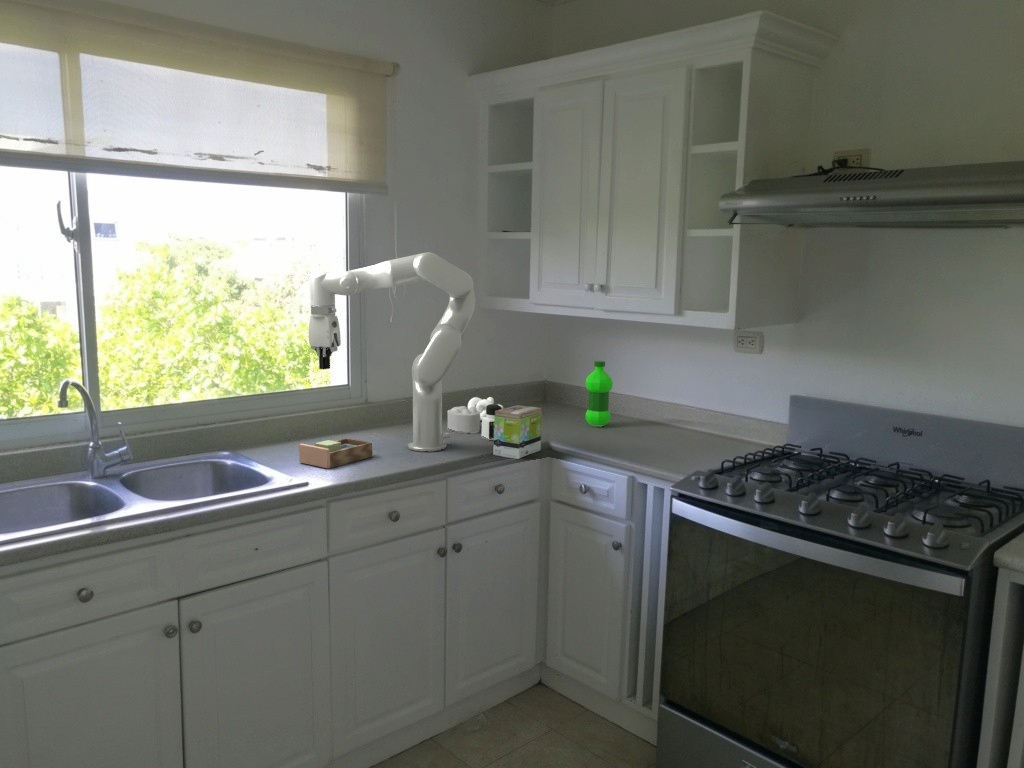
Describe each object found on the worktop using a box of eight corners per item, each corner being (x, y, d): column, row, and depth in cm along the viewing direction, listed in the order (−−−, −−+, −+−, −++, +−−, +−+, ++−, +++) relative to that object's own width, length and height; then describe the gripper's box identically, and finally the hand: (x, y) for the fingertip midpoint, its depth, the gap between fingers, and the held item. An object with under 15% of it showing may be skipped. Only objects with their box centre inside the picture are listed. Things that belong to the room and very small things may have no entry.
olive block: (328, 452, 245) (328, 440, 245) (341, 455, 242) (340, 442, 242) (315, 456, 241) (314, 443, 240) (327, 458, 238) (327, 445, 237)
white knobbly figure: (472, 424, 305) (472, 401, 303) (463, 418, 316) (463, 396, 314) (500, 422, 309) (500, 399, 307) (489, 416, 320) (490, 395, 318)
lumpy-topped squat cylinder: (467, 426, 300) (467, 403, 299) (486, 432, 290) (486, 409, 289) (443, 429, 294) (443, 406, 293) (462, 435, 284) (462, 411, 283)
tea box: (519, 459, 249) (520, 413, 247) (492, 455, 254) (493, 410, 252) (541, 450, 262) (542, 406, 260) (515, 447, 267) (516, 403, 265)
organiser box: (346, 451, 256) (346, 438, 255) (372, 456, 250) (372, 442, 249) (304, 462, 241) (303, 448, 241) (329, 468, 235) (329, 453, 235)
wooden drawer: (342, 451, 255) (342, 434, 254) (370, 456, 249) (369, 439, 248) (299, 462, 240) (298, 444, 239) (327, 468, 234) (326, 449, 233)
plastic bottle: (599, 422, 311) (601, 359, 307) (616, 427, 302) (618, 362, 299) (579, 424, 306) (580, 360, 302) (595, 429, 297) (597, 363, 293)
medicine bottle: (488, 441, 275) (489, 407, 273) (481, 436, 282) (481, 403, 280) (507, 439, 278) (508, 405, 276) (499, 435, 284) (500, 402, 283)
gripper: (348, 311, 250) (350, 369, 253) (315, 310, 258) (316, 366, 261) (331, 312, 244) (333, 371, 246) (297, 311, 252) (299, 368, 254)
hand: (324, 368), depth 253 cm, fingers closed
